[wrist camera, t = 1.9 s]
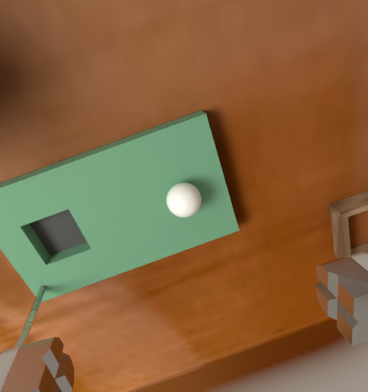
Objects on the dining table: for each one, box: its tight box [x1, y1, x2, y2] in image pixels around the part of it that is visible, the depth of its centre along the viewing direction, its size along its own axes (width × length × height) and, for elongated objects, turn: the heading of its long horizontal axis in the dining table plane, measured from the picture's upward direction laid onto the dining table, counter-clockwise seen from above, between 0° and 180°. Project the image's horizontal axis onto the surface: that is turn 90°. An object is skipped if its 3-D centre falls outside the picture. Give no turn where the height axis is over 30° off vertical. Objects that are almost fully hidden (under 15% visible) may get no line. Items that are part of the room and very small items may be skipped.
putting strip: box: [0, 110, 239, 302], centre depth 37 cm, size 28×16×2 cm, turn 108°
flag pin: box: [15, 285, 47, 348], centre depth 32 cm, size 4×1×14 cm, turn 108°
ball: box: [166, 183, 201, 217], centre depth 34 cm, size 4×4×4 cm
